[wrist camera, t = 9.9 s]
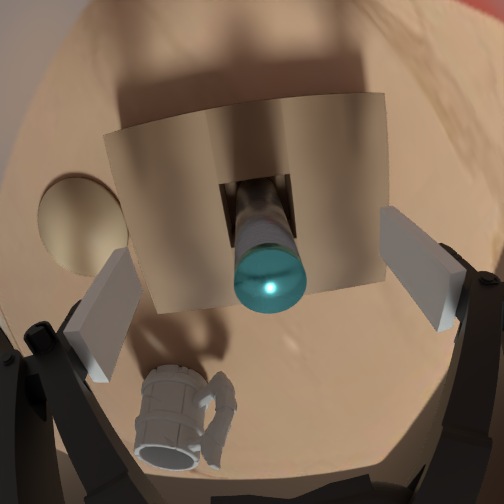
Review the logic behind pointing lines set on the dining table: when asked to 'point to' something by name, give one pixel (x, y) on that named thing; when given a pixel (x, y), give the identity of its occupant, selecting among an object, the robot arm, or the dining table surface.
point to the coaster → (81, 225)
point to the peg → (265, 251)
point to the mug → (182, 418)
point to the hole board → (250, 167)
